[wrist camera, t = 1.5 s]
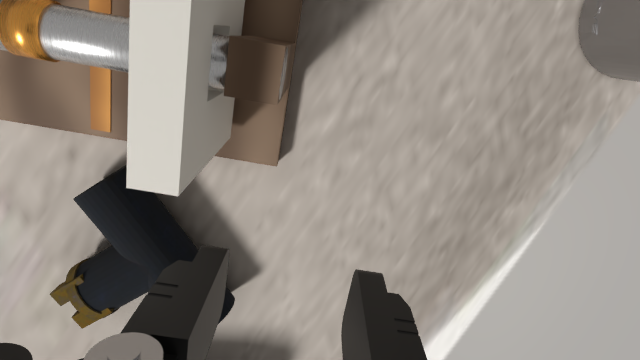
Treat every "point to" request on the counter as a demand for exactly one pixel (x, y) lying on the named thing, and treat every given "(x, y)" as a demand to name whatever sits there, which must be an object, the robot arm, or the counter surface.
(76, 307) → the pipe connector
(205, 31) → the white flat block
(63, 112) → the pipe stand
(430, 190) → the counter surface
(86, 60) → the steel pipe
